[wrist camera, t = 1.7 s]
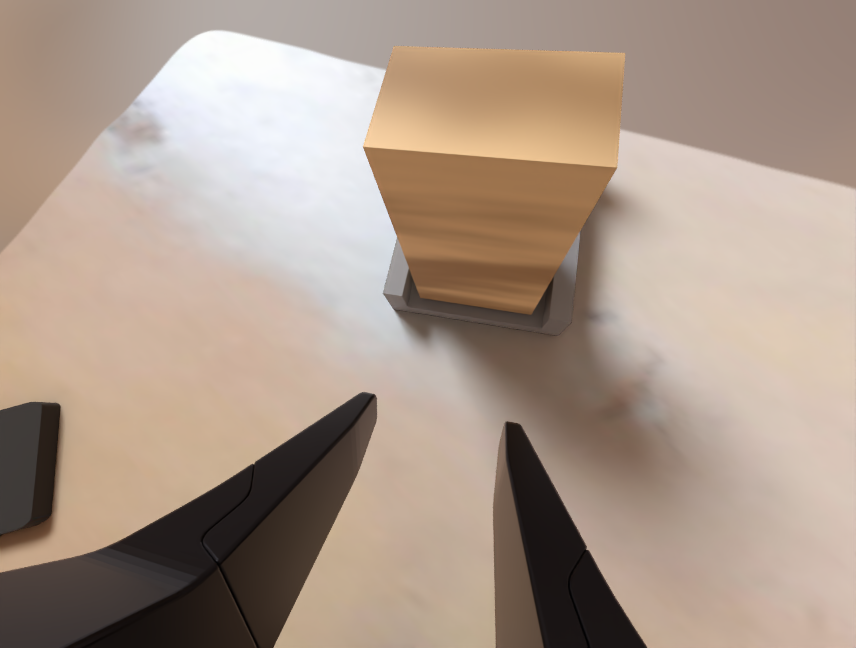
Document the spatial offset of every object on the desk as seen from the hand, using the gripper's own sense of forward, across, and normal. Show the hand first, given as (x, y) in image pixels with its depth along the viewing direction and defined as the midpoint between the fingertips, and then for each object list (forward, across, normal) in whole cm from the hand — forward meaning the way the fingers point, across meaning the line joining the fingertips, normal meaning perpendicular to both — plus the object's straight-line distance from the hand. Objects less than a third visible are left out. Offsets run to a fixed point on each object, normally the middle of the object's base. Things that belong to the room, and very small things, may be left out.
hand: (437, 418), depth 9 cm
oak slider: (+14, 0, +1) cm, 14 cm away
